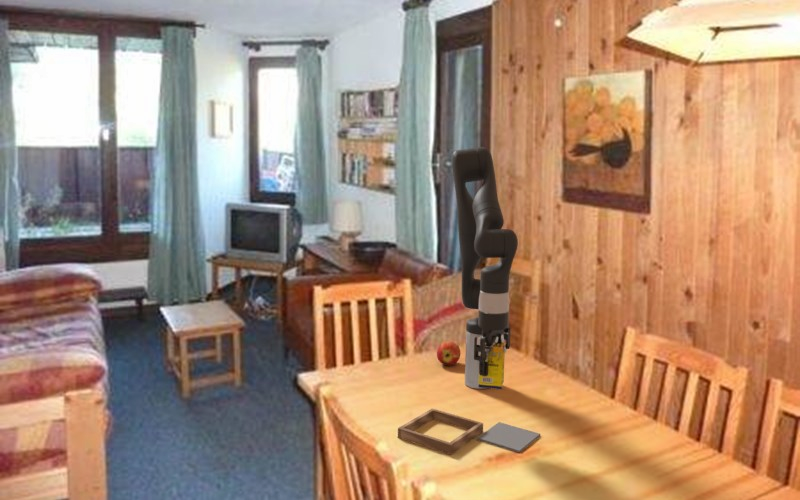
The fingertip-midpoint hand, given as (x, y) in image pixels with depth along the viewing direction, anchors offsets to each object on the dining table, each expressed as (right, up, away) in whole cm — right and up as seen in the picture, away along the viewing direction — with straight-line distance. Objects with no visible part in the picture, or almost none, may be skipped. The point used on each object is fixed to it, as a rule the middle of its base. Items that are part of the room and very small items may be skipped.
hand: (491, 370), depth 174 cm
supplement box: (0, -4, +1) cm, 4 cm away
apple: (-7, -8, +58) cm, 59 cm away
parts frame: (-13, -17, +4) cm, 22 cm away
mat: (+5, -18, +3) cm, 18 cm away
